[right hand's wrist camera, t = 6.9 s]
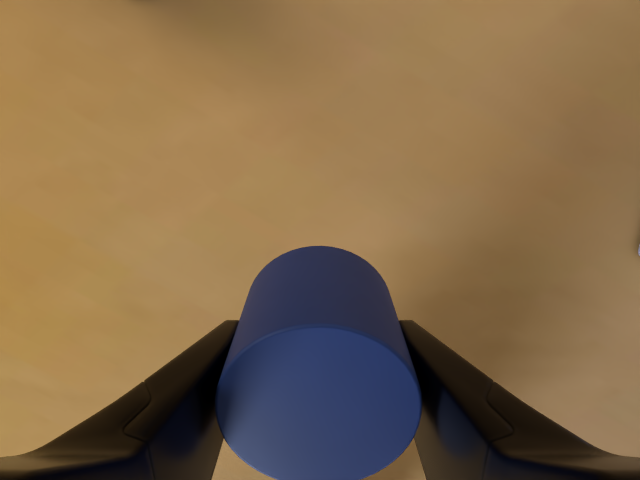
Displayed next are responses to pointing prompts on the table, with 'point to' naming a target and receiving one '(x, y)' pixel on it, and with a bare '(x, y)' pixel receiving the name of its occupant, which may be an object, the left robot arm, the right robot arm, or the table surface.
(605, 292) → the table surface
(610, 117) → the table surface
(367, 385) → the can
